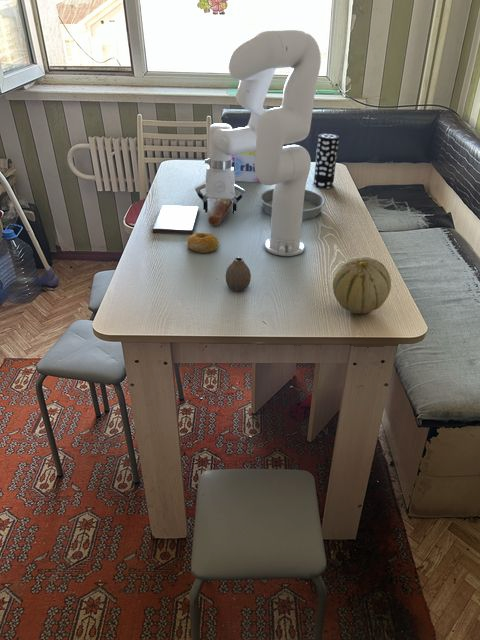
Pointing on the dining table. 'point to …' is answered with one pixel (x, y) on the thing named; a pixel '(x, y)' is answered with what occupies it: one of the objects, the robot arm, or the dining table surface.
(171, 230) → the bread board
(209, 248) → the bagel
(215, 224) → the bread
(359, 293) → the cantaloupe
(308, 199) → the cake pan
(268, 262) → the dining table surface
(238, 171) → the gum box
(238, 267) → the vase
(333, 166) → the white-spotted black cylinder
